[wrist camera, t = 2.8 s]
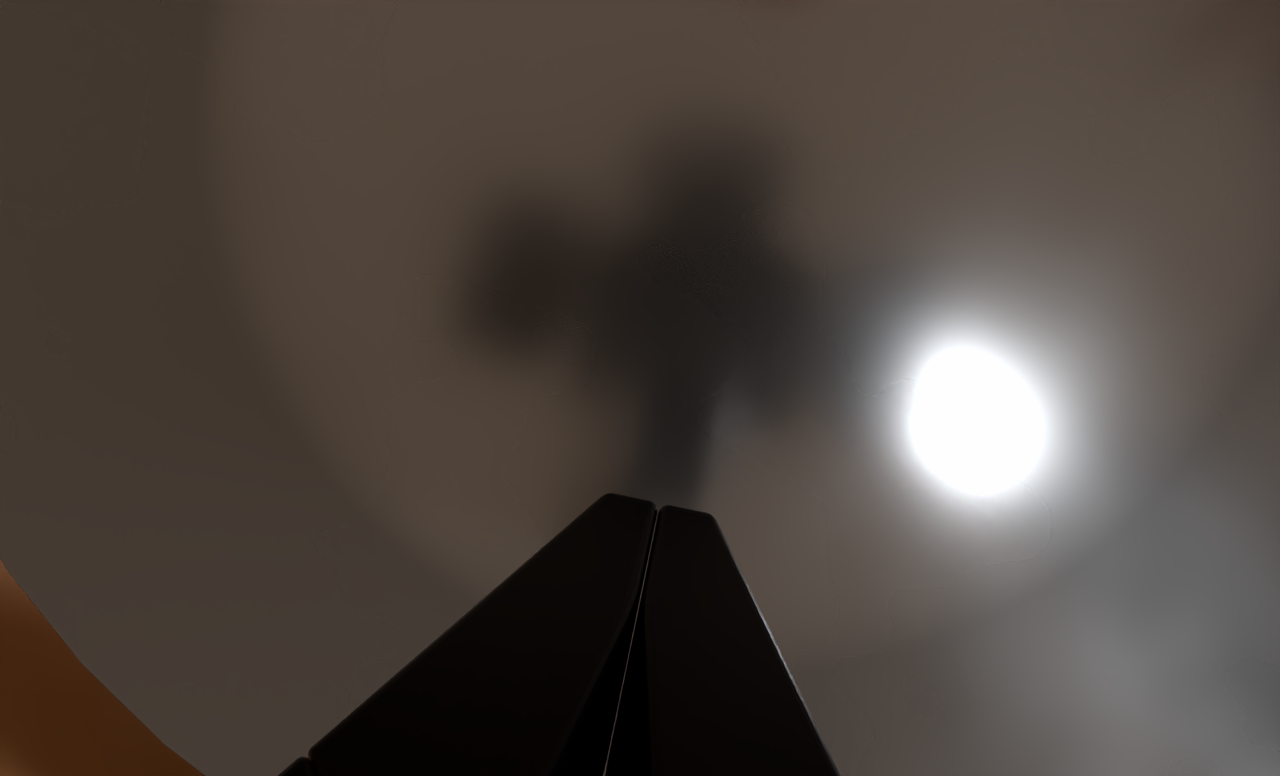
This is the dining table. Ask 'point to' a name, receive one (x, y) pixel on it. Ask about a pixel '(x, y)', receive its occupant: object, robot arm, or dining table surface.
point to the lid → (657, 351)
